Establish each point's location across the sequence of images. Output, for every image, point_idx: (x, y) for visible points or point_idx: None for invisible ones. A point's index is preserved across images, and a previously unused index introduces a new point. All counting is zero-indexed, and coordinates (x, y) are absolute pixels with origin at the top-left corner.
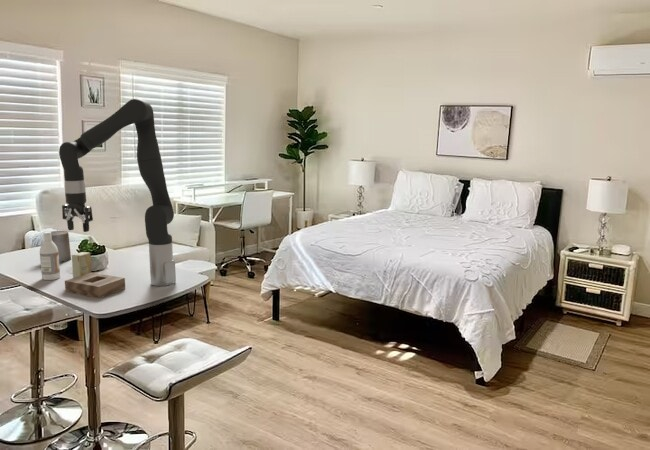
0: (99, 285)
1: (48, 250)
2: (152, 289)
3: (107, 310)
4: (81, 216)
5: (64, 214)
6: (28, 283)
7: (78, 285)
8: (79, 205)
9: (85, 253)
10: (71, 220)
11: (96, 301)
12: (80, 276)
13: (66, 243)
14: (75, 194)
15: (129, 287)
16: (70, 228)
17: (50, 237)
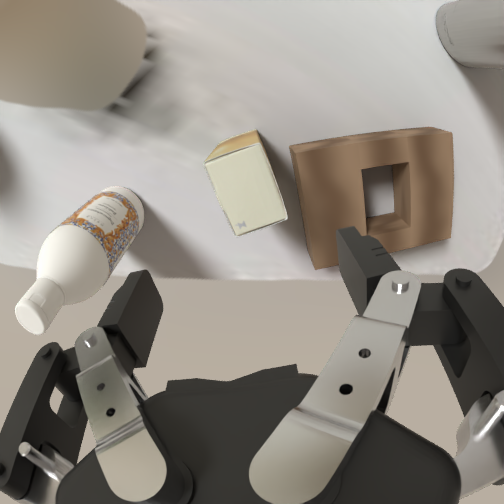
0: (445, 230)
1: (100, 283)
2: (483, 96)
3: (488, 256)
4: (390, 403)
5: (84, 429)
6: None
7: None
8: None
9: (260, 173)
10: (118, 342)
11: (441, 240)
12: (312, 211)
13: None
14: None
15: (430, 110)
16: (156, 306)
17: (53, 299)
